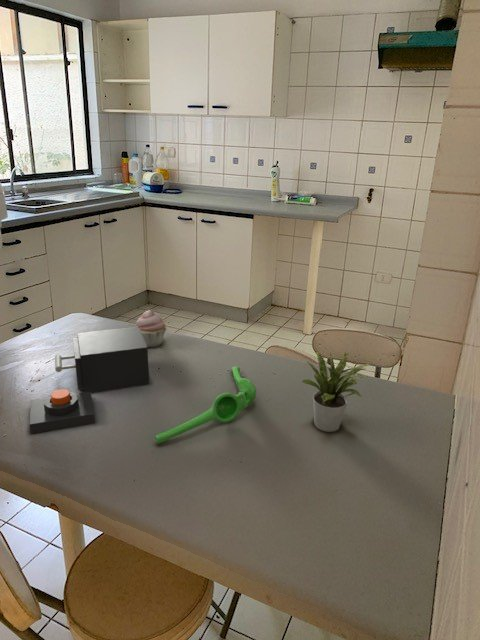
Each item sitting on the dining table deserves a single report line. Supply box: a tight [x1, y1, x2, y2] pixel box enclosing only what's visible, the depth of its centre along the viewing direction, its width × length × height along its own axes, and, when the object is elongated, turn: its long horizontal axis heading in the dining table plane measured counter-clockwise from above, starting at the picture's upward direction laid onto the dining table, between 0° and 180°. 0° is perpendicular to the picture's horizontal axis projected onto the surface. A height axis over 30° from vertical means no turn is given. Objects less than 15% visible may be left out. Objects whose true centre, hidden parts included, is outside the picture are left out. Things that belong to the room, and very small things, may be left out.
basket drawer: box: [54, 337, 84, 391], centre depth 109 cm, size 18×11×8 cm, turn 111°
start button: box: [50, 388, 71, 405], centre depth 94 cm, size 4×4×2 cm
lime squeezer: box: [154, 366, 257, 444], centre depth 99 cm, size 34×12×6 cm, turn 154°
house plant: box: [300, 349, 372, 433], centre depth 92 cm, size 14×14×16 cm
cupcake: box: [133, 309, 168, 348], centre depth 128 cm, size 9×9×10 cm
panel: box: [28, 391, 96, 435], centre depth 95 cm, size 12×9×4 cm
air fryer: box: [76, 326, 150, 394], centre depth 110 cm, size 15×13×10 cm
